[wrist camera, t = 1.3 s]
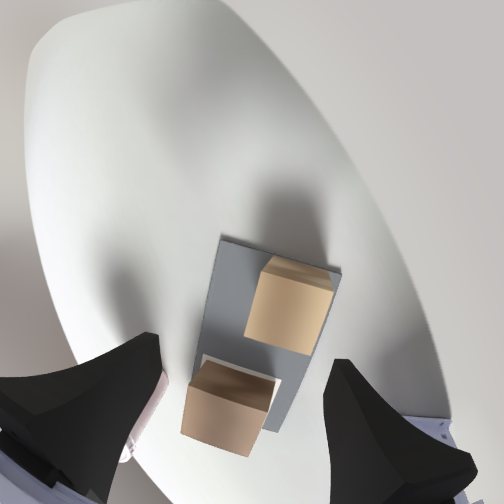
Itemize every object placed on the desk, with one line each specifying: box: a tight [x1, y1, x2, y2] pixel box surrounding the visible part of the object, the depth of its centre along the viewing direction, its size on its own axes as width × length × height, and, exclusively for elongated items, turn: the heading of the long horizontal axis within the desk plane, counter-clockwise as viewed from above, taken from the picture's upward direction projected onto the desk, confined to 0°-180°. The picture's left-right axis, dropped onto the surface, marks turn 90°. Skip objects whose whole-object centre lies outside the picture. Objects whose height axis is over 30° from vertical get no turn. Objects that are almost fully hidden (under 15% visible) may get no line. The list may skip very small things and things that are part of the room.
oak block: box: [244, 256, 334, 356], centre depth 17 cm, size 4×4×5 cm
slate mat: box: [192, 240, 342, 433], centre depth 21 cm, size 9×16×1 cm, turn 166°
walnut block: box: [180, 360, 276, 457], centre depth 20 cm, size 6×6×4 cm
